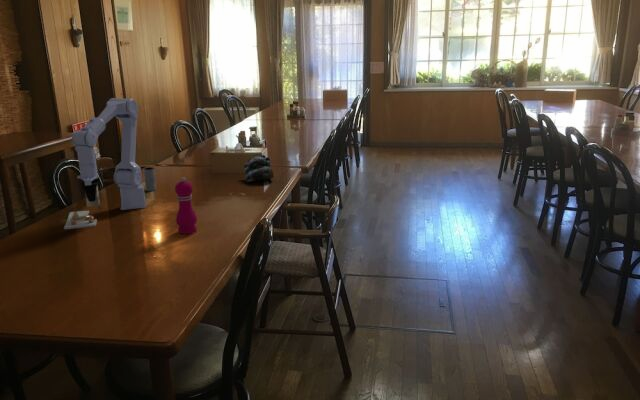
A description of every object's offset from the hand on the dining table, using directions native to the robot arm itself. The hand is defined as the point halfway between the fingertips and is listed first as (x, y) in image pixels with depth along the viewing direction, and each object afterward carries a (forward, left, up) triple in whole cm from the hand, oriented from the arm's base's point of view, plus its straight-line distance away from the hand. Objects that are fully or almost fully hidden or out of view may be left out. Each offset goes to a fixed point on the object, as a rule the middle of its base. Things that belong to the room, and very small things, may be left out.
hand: (92, 199), depth 188 cm
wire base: (+5, -3, -9) cm, 11 cm away
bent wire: (+4, -3, -9) cm, 10 cm away
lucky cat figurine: (-70, -42, -10) cm, 82 cm away
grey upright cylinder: (-20, -42, -10) cm, 48 cm away
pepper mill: (-32, +20, -10) cm, 39 cm away
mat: (+7, -14, -9) cm, 18 cm away
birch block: (0, 0, -2) cm, 2 cm away
